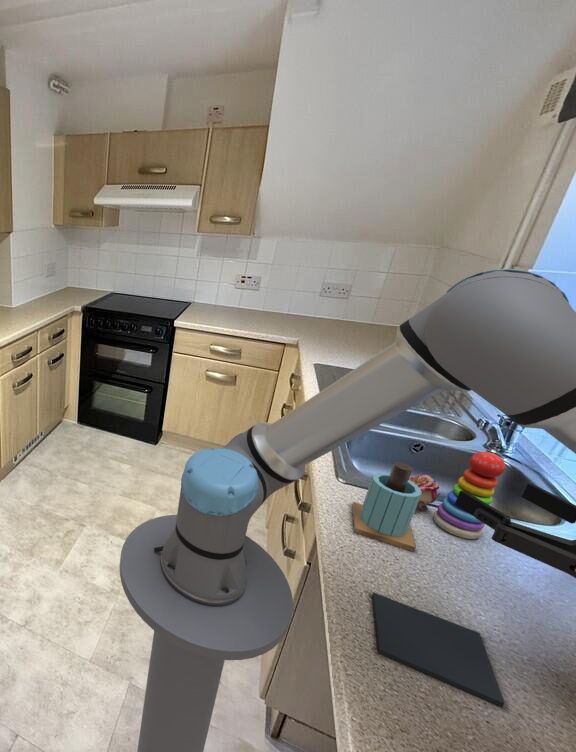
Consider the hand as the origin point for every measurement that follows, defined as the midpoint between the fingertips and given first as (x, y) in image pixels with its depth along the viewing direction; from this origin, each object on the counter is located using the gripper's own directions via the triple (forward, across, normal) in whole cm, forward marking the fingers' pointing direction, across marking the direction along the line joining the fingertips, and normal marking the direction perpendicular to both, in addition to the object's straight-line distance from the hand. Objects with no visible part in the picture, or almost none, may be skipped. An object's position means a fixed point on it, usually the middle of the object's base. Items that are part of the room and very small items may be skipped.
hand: (492, 493), depth 68 cm
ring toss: (+15, 0, -20) cm, 25 cm away
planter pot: (+15, 0, -19) cm, 24 cm away
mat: (-9, -15, -20) cm, 27 cm away
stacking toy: (+12, +16, -20) cm, 29 cm away
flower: (+21, +13, -20) cm, 32 cm away
